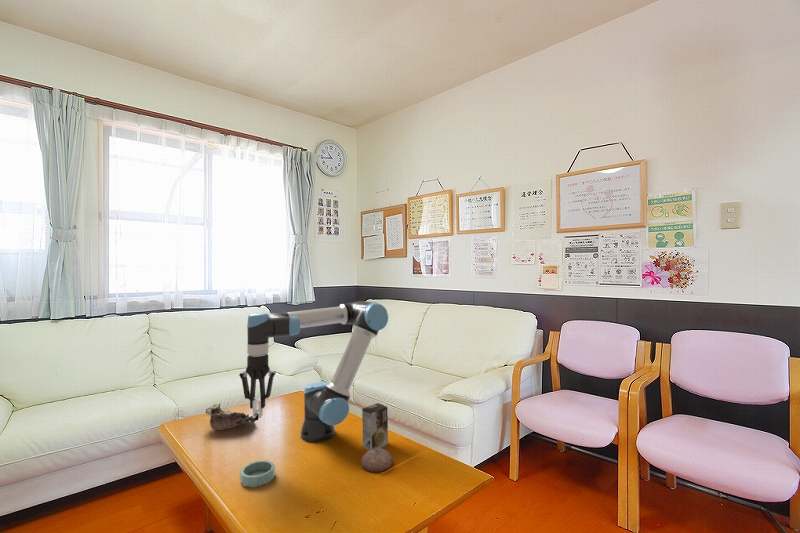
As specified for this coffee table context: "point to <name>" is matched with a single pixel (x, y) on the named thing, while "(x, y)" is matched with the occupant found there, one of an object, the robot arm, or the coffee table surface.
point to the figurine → (248, 419)
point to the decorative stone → (377, 460)
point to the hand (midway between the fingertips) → (257, 416)
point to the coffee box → (375, 426)
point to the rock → (223, 417)
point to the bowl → (257, 473)
